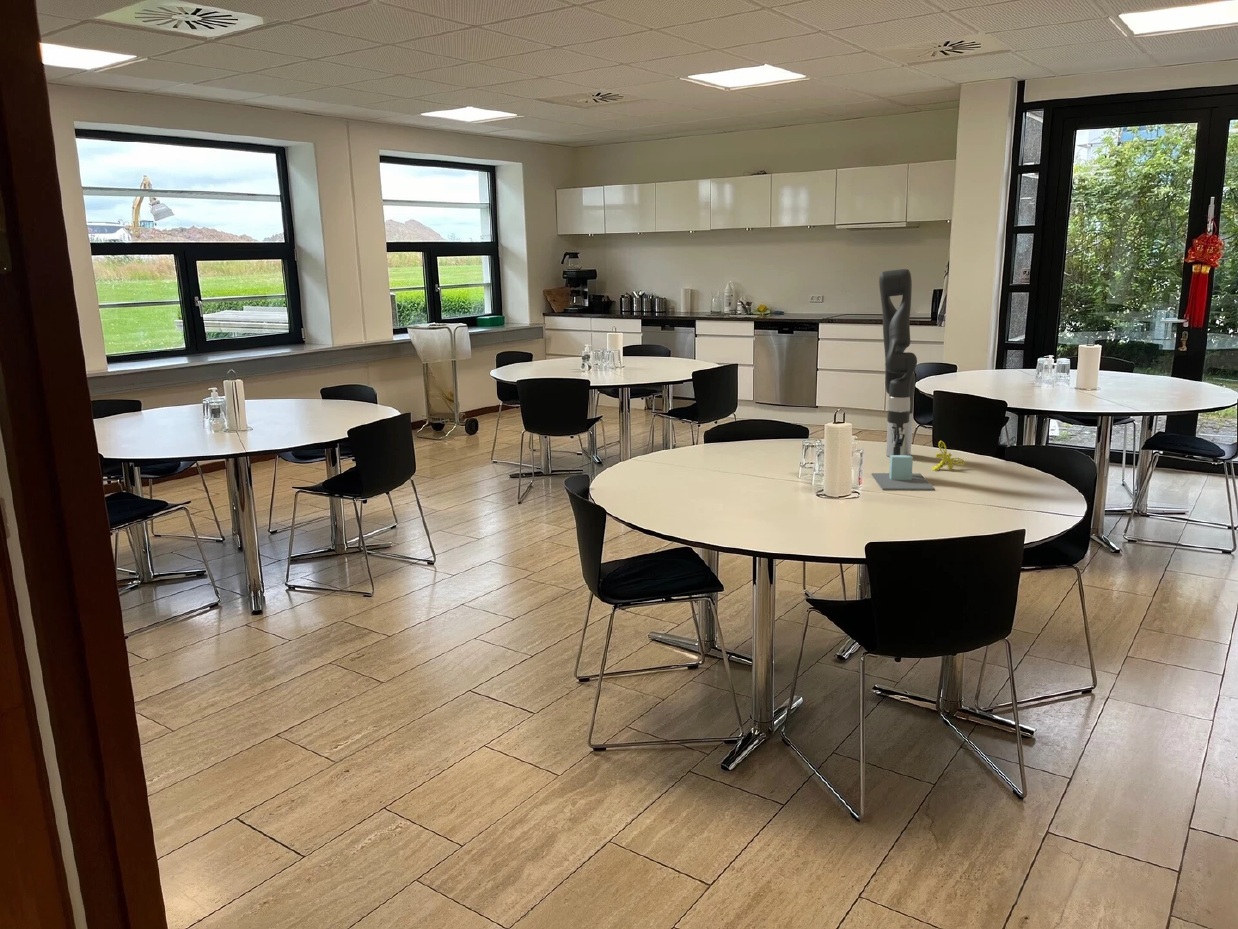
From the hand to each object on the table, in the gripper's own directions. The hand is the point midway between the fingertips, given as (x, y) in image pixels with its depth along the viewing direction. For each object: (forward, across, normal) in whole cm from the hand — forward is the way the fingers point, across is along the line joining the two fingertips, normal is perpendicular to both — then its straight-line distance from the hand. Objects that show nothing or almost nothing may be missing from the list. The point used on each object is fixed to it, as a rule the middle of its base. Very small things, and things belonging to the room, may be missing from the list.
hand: (896, 456), depth 324 cm
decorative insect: (+7, -9, +21) cm, 24 cm away
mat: (+7, +11, 0) cm, 13 cm away
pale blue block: (+6, +8, 0) cm, 10 cm away
